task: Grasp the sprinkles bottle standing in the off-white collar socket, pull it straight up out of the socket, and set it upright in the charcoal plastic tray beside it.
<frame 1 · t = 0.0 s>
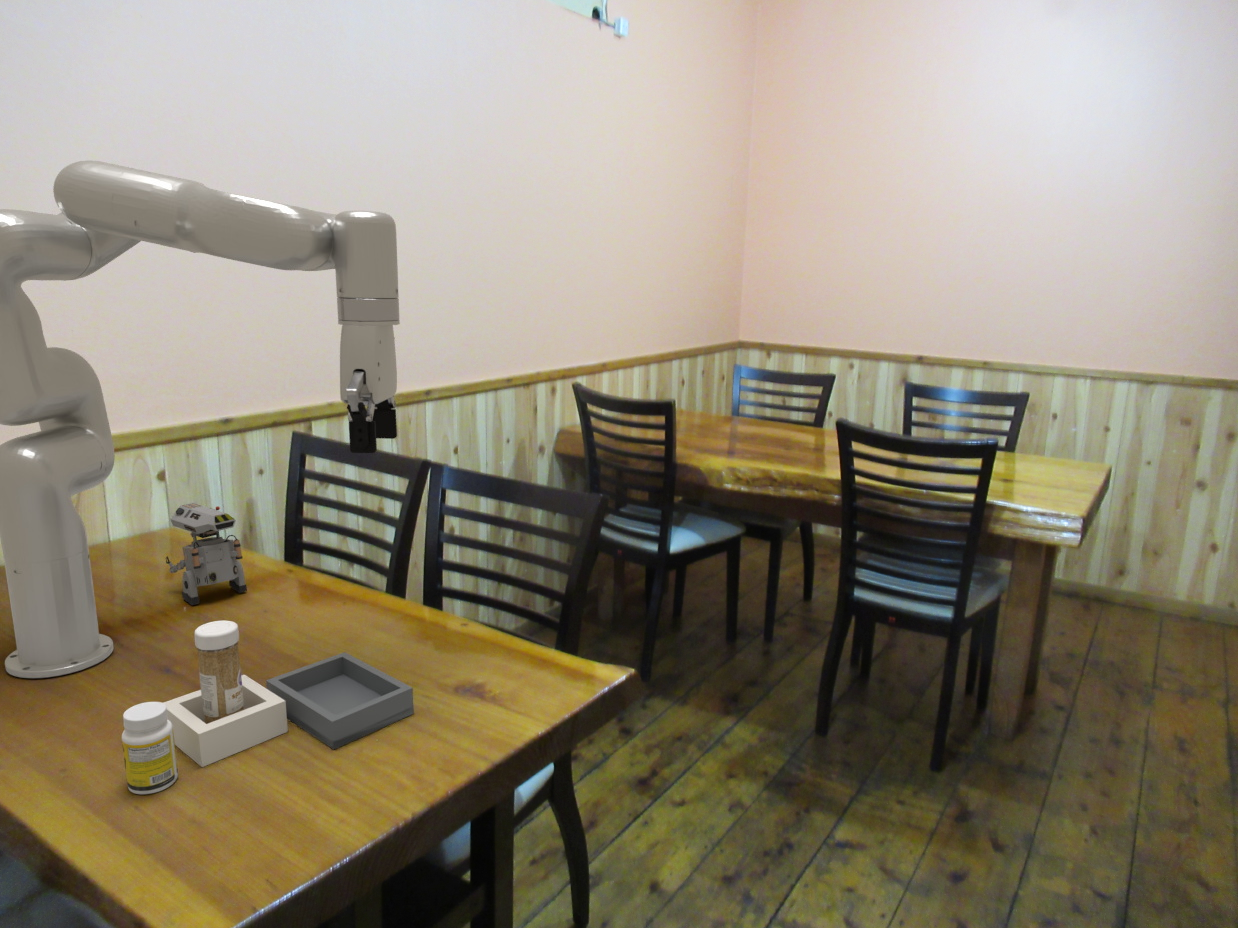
hand: (374, 444, 111), 31 cm above the table, tool pointing down, fingers open, 9 cm apart
sprinkles bottle: (226, 734, 99), resting in collar socket
figurine: (209, 594, 142), on the table
collar socket: (225, 733, 99), on the table
supplement bottle: (153, 784, 90), on the table
charcoal tray: (340, 709, 105), on the table
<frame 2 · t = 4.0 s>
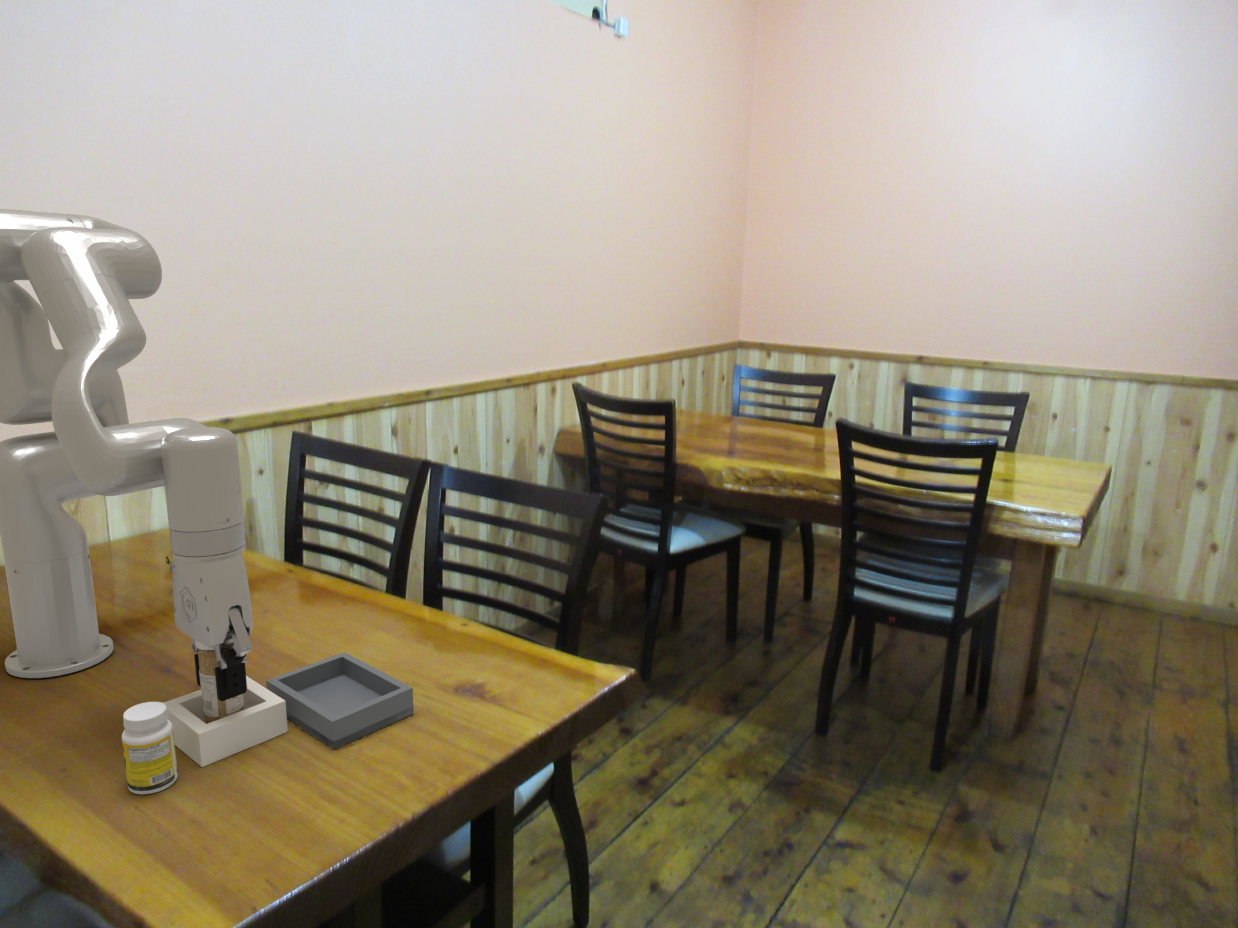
hand: (222, 687, 98), 6 cm above the table, tool pointing down, fingers closed on sprinkles bottle, 4 cm apart
sprinkles bottle: (226, 734, 99), resting in collar socket, touching gripper
everything else where it was.
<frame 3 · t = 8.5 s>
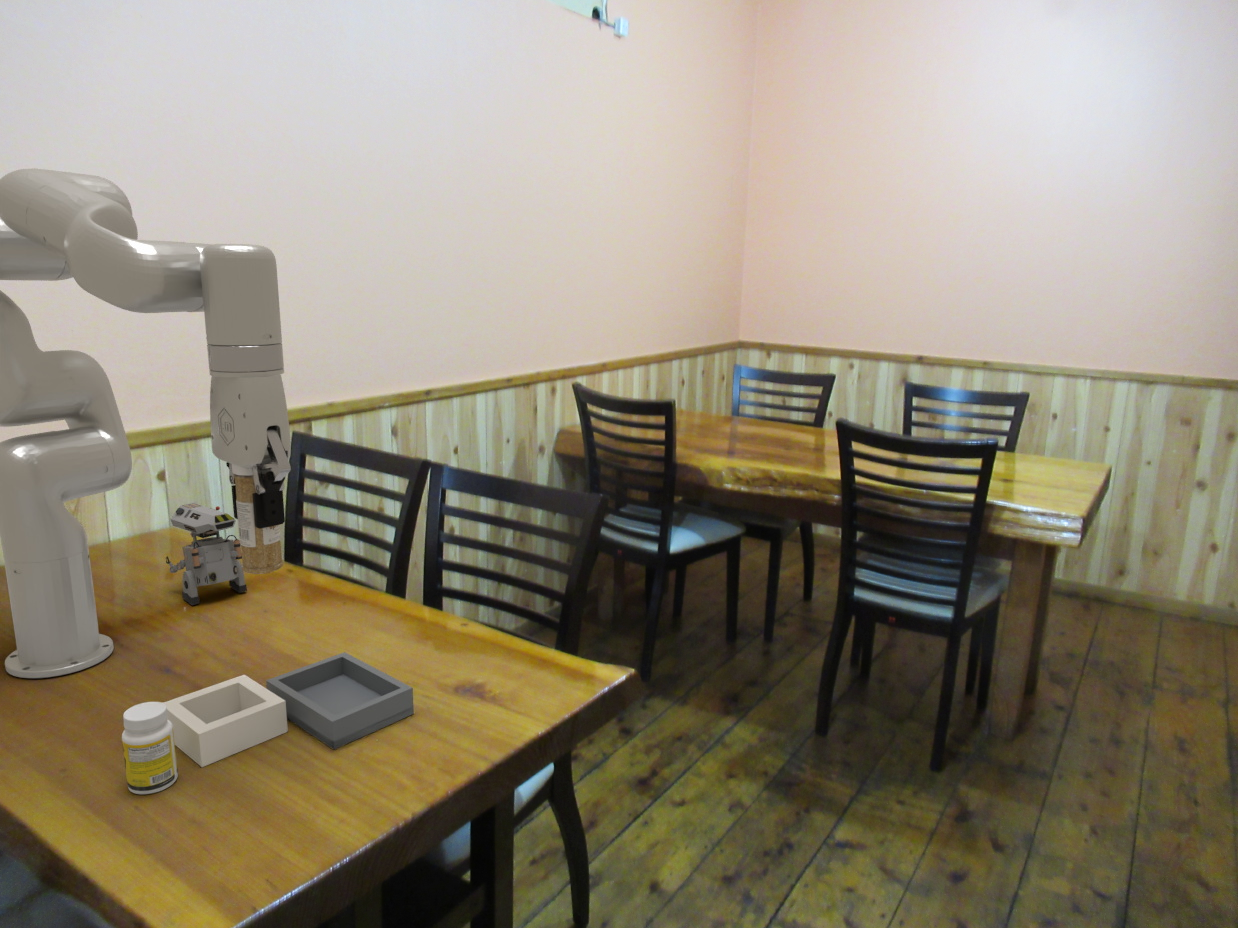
hand: (259, 519, 96), 26 cm above the table, tool pointing down, fingers closed on sprinkles bottle, 4 cm apart
sprinkles bottle: (262, 570, 97), point 19 cm above the table, touching gripper
everything else where it was.
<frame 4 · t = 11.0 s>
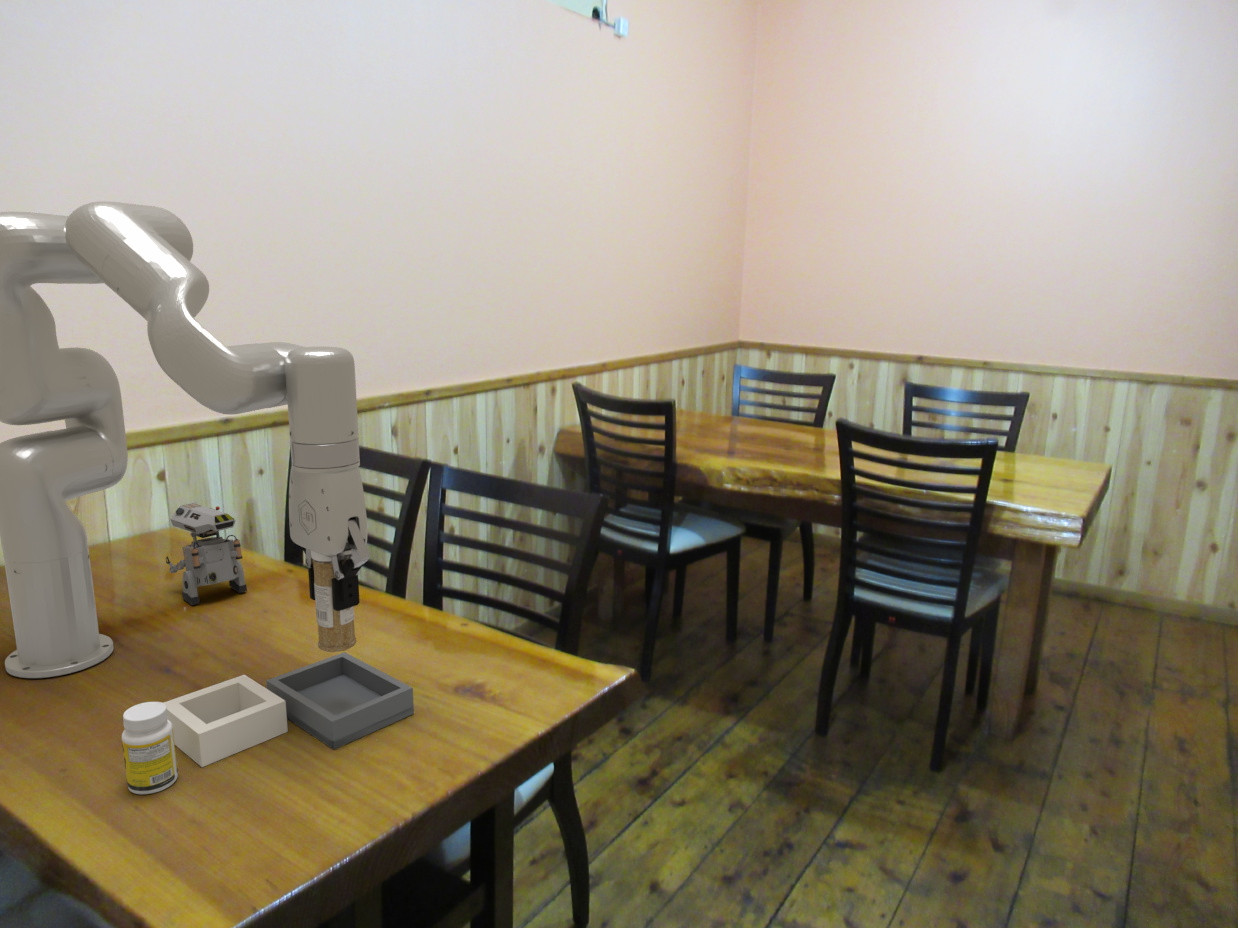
hand: (334, 600, 102), 14 cm above the table, tool pointing down, fingers closed on sprinkles bottle, 4 cm apart
sprinkles bottle: (337, 647, 103), point 8 cm above the table, touching gripper
everything else where it was.
when the fingers open (8 cm above the table, at t = 13.1 s): sprinkles bottle stays where it is, resting on charcoal tray.
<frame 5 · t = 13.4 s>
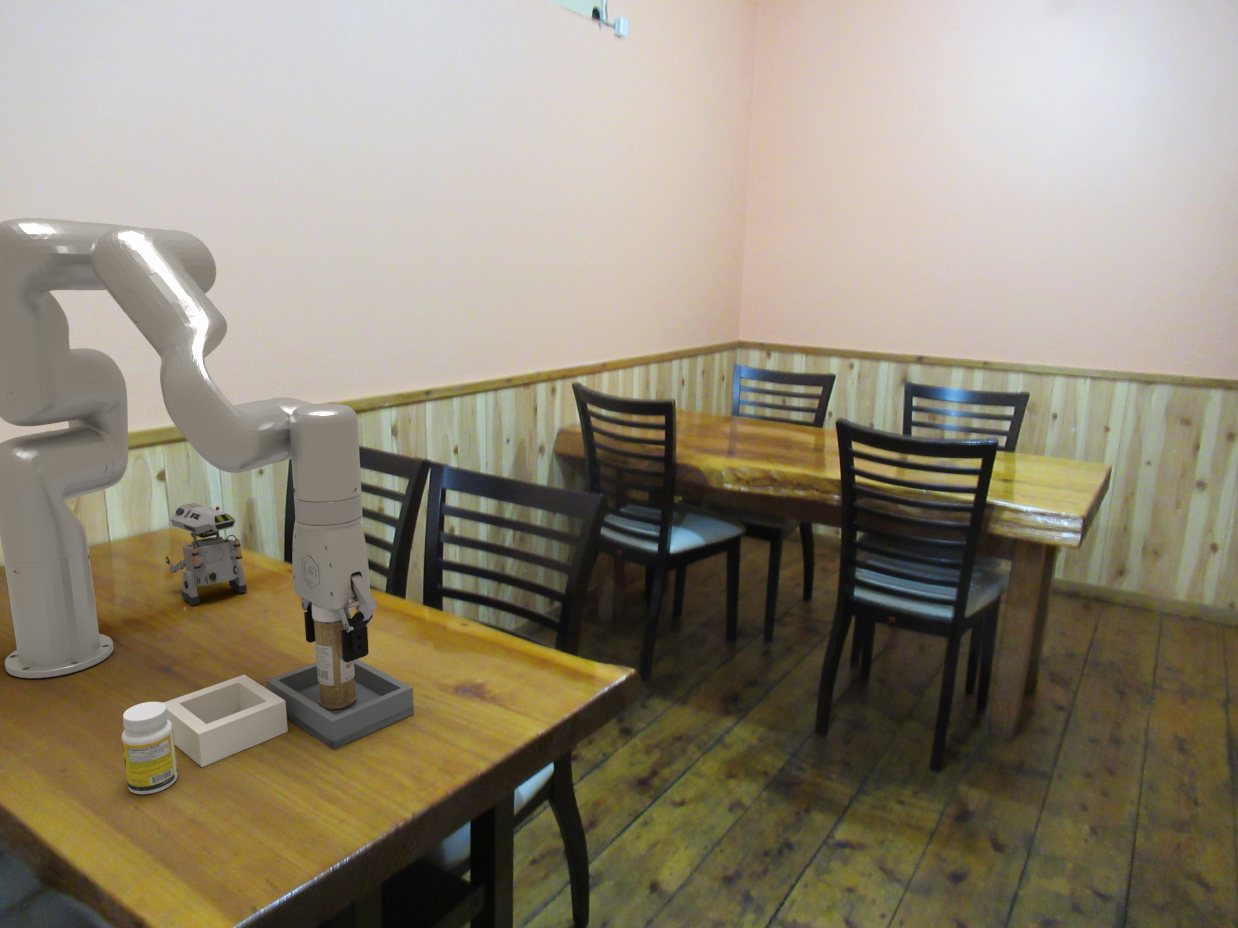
hand: (336, 647, 103), 8 cm above the table, tool pointing down, fingers open, 7 cm apart
sprinkles bottle: (337, 703, 105), point 1 cm above the table, touching charcoal tray
everything else where it was.
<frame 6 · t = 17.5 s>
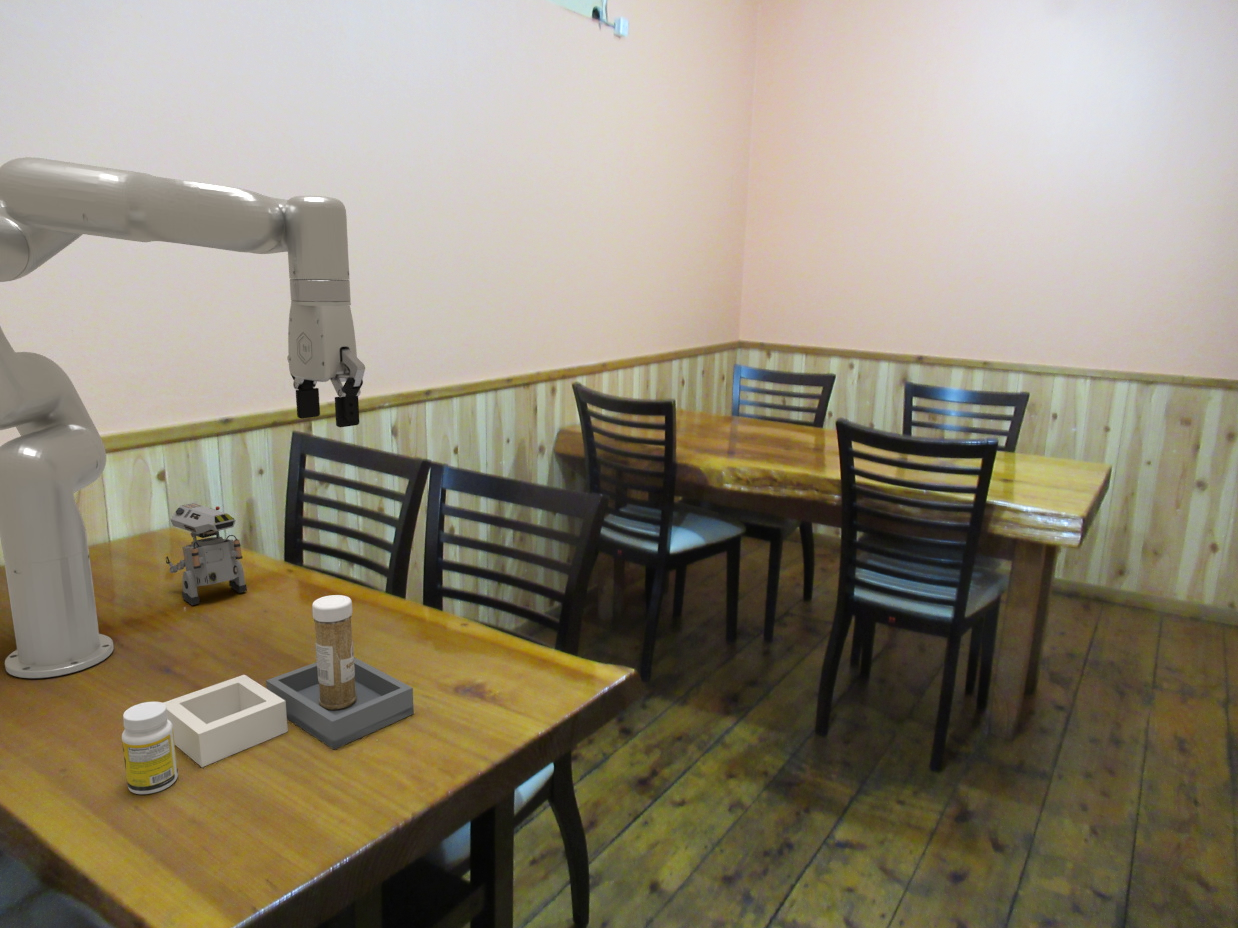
hand: (327, 421, 115), 33 cm above the table, tool pointing down, fingers open, 9 cm apart
nothing on the table moved.
at the end: sprinkles bottle inside the target area on the charcoal tray (0.3 cm from its centre), point 0.8 cm above the charcoal tray's base; sprinkles bottle tilted 0°; the gripper is holding nothing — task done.
